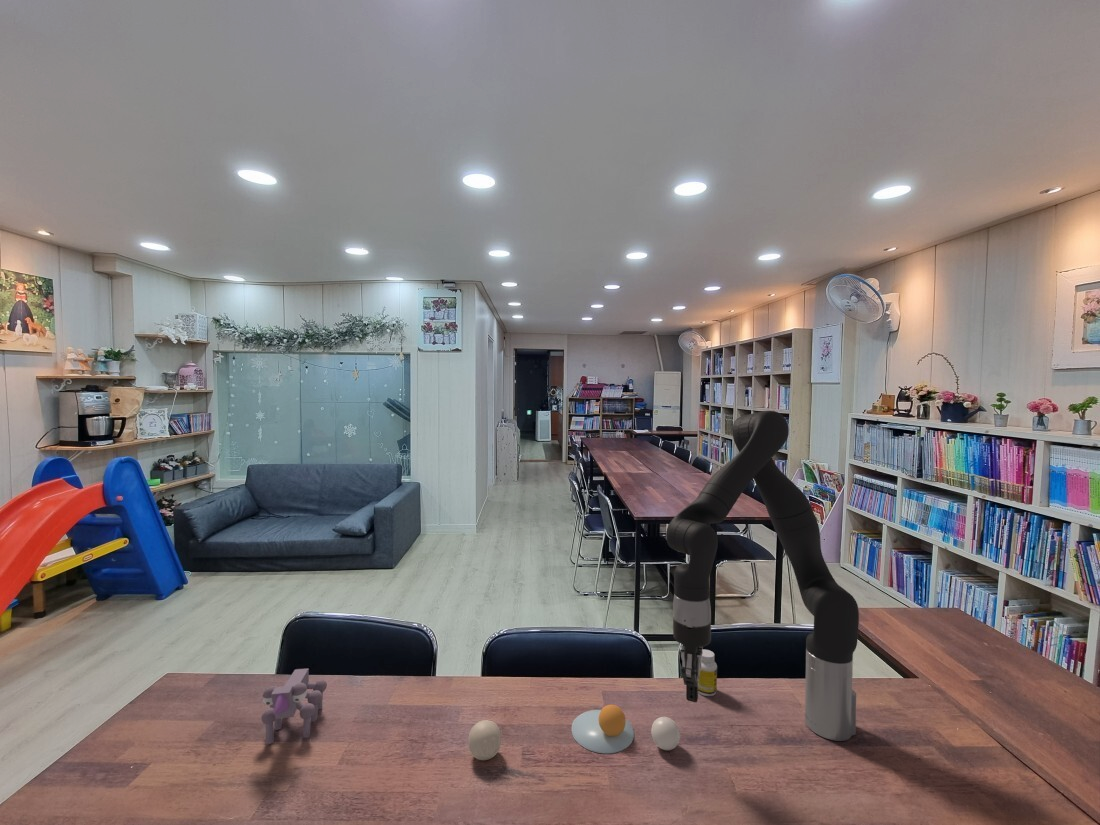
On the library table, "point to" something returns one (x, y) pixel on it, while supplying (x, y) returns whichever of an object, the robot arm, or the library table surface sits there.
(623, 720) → the object ball
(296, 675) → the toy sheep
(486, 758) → the beige egg
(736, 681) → the library table surface
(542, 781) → the library table surface
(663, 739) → the cue ball
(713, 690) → the supplement bottle
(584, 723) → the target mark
